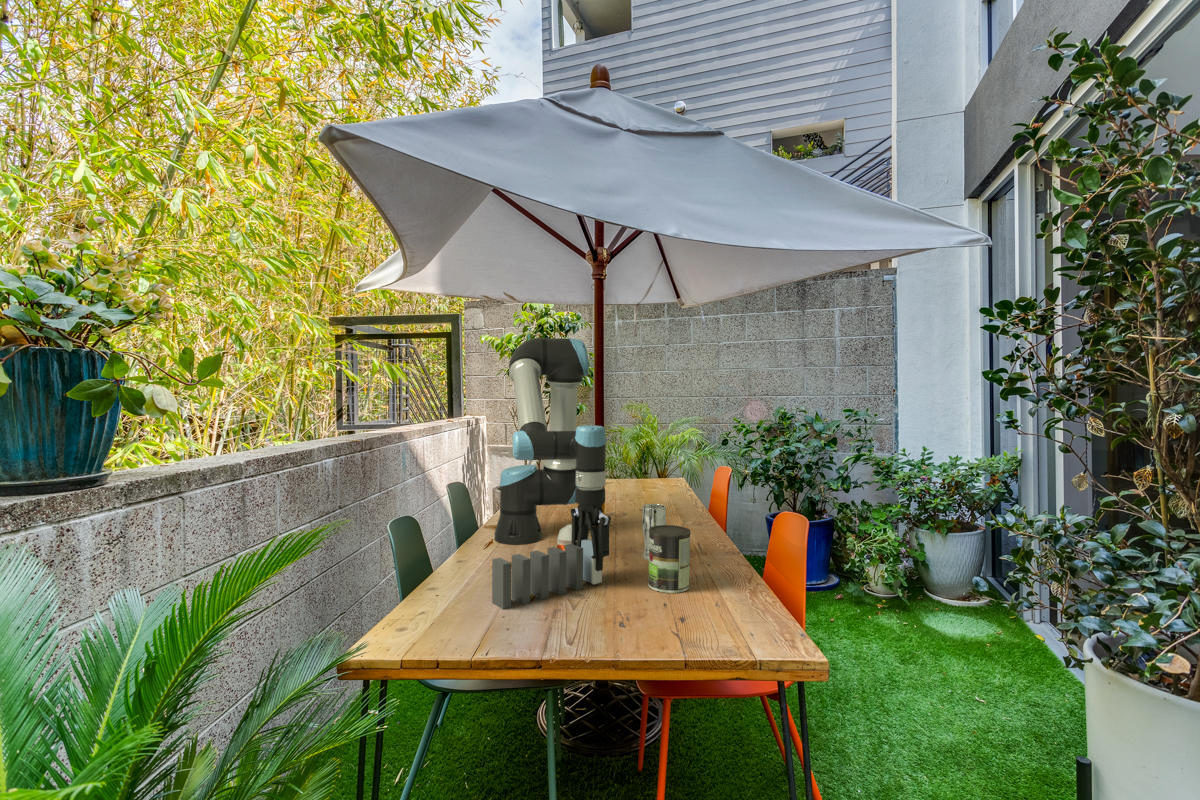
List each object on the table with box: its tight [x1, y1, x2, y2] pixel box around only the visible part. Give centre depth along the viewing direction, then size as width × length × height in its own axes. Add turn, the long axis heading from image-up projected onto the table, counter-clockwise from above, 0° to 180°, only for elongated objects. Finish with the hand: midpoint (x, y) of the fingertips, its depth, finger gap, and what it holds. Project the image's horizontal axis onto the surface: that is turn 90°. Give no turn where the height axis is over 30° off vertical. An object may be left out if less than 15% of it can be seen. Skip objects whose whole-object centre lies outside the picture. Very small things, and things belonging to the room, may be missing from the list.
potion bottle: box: [556, 523, 590, 551], centre depth 170 cm, size 9×10×15 cm
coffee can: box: [647, 524, 692, 594], centre depth 146 cm, size 10×10×14 cm
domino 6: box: [581, 538, 594, 584], centre depth 149 cm, size 2×5×10 cm, turn 39°
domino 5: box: [565, 544, 584, 591], centre depth 145 cm, size 2×5×10 cm, turn 39°
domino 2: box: [511, 553, 531, 605], centre depth 136 cm, size 2×5×10 cm, turn 39°
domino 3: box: [529, 550, 550, 600], centre depth 139 cm, size 2×5×10 cm, turn 39°
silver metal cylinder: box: [641, 503, 667, 561], centre depth 171 cm, size 7×7×15 cm
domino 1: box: [491, 557, 512, 610], centre depth 133 cm, size 2×5×10 cm, turn 39°
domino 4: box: [547, 546, 567, 596], centre depth 142 cm, size 2×5×10 cm, turn 39°
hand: (589, 579), depth 149 cm, fingers closed on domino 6, 5 cm apart
